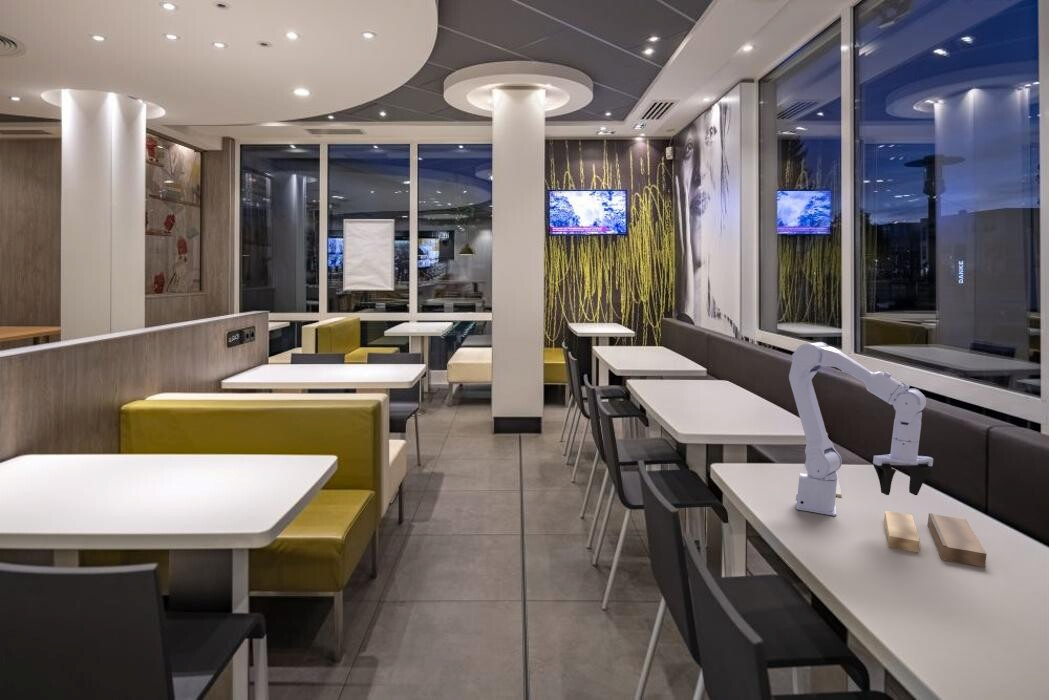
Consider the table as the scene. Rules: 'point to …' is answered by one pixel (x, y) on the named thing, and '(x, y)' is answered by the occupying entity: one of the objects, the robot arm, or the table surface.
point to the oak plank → (901, 531)
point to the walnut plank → (956, 540)
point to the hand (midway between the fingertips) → (899, 493)
